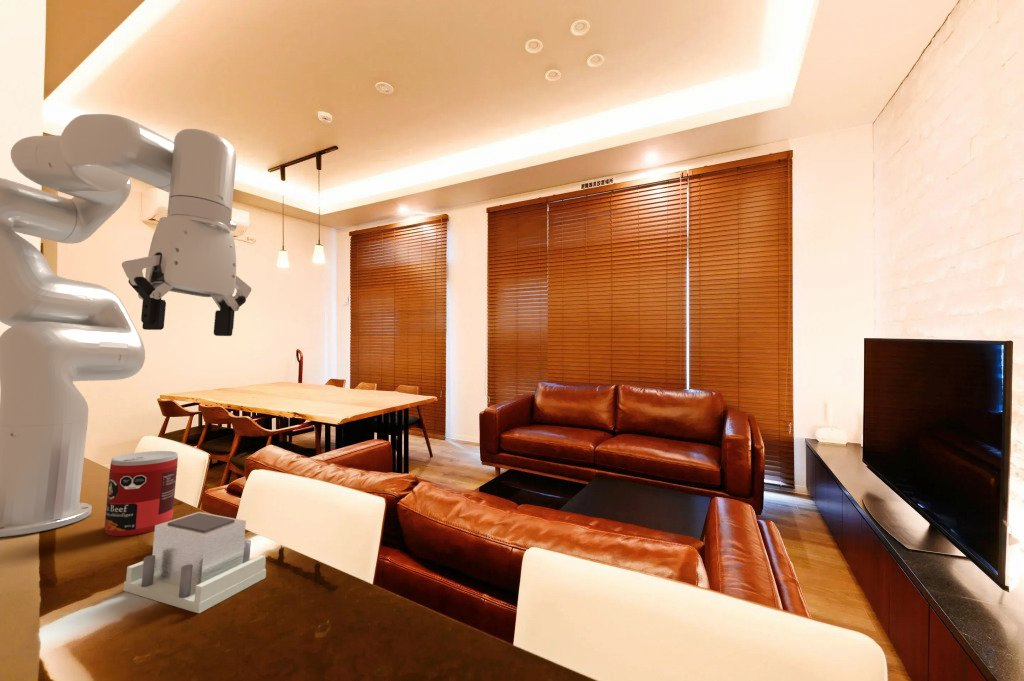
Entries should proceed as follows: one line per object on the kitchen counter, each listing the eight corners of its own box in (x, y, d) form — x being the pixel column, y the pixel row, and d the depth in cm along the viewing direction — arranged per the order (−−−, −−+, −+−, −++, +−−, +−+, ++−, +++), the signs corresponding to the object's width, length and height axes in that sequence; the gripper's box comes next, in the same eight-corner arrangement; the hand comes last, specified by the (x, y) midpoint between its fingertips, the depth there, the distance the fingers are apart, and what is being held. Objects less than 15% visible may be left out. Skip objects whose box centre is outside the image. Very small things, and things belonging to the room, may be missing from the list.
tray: (123, 590, 47) (126, 554, 47) (196, 560, 55) (198, 529, 55) (198, 613, 43) (202, 574, 44) (265, 577, 51) (268, 544, 51)
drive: (150, 578, 48) (155, 523, 48) (194, 560, 53) (198, 510, 53) (200, 592, 45) (204, 534, 46) (242, 571, 50) (246, 519, 51)
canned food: (94, 530, 63) (102, 456, 64) (158, 514, 70) (164, 448, 71) (116, 541, 59) (124, 463, 60) (181, 523, 66) (187, 454, 67)
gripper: (236, 238, 71) (228, 337, 70) (112, 197, 54) (99, 326, 53) (270, 235, 68) (262, 338, 67) (151, 191, 52) (138, 326, 51)
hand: (190, 332), depth 60 cm, fingers open, 9 cm apart
